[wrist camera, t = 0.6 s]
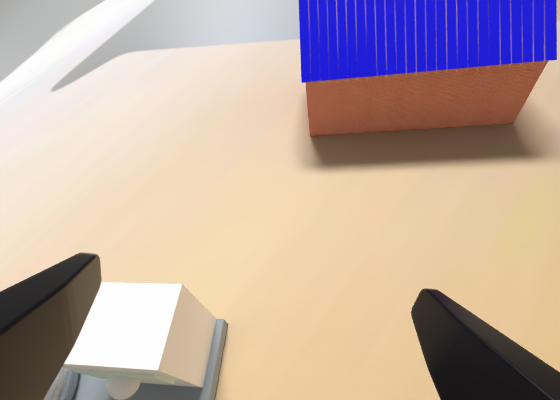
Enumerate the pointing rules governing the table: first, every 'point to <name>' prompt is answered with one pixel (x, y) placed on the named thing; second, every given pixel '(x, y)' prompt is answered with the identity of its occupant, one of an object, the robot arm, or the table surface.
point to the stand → (147, 345)
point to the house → (421, 62)
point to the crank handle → (63, 385)
